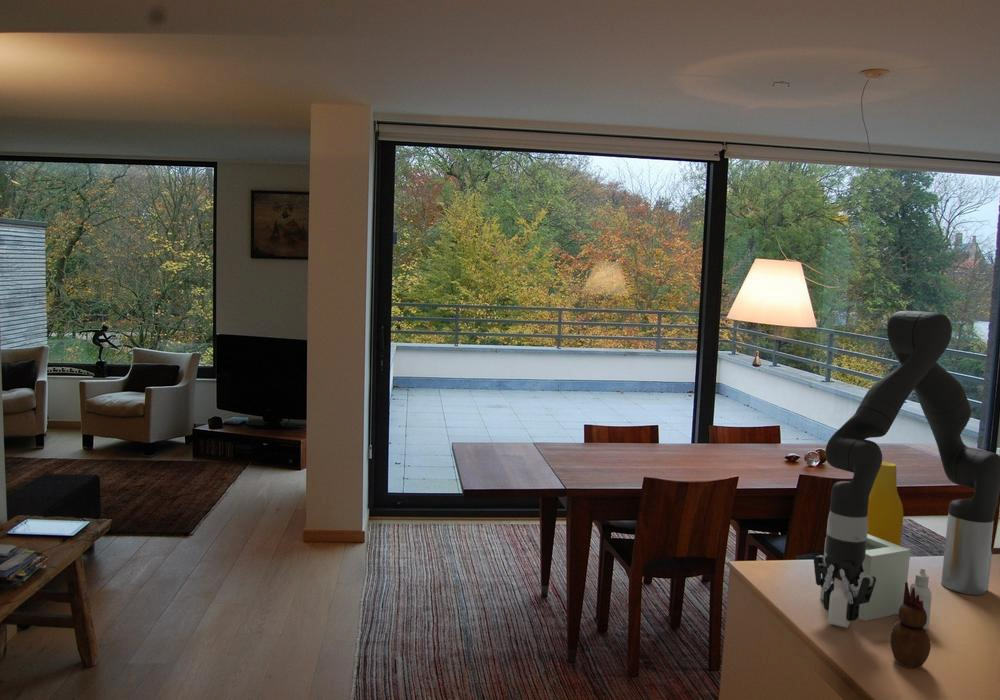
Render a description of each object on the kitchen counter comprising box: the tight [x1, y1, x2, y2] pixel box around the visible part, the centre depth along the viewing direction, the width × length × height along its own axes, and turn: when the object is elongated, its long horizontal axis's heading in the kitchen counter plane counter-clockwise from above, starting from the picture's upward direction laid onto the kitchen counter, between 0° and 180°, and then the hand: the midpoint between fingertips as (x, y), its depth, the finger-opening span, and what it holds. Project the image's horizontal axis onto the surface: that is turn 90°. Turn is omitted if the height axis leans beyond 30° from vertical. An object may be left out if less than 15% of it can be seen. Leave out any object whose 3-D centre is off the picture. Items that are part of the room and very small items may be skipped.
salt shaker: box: [827, 578, 852, 628], centre depth 163 cm, size 4×4×10 cm
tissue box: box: [819, 534, 911, 622], centre depth 174 cm, size 12×12×14 cm
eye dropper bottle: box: [909, 567, 933, 630], centre depth 166 cm, size 4×6×12 cm
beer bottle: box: [867, 461, 904, 546], centre depth 187 cm, size 9×9×29 cm
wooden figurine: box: [889, 581, 932, 669], centre depth 148 cm, size 7×6×15 cm
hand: (839, 614), depth 163 cm, fingers closed on salt shaker, 5 cm apart
